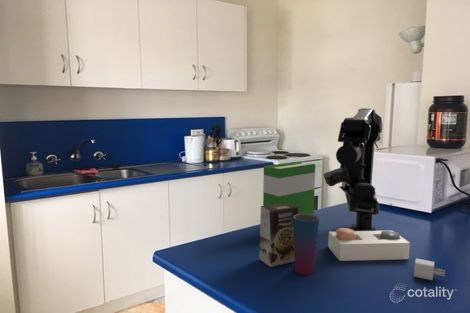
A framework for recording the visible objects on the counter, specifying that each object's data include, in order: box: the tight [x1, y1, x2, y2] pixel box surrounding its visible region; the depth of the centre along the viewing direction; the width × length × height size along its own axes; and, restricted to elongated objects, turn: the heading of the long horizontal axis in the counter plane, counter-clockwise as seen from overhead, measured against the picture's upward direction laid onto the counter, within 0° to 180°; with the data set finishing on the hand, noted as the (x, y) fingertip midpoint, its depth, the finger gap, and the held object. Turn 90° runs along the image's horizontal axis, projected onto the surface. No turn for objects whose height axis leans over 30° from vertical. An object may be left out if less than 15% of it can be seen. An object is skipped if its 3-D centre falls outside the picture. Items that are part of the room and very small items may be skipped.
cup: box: [293, 214, 320, 276], centre depth 100 cm, size 7×7×15 cm
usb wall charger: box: [413, 258, 446, 281], centre depth 97 cm, size 4×7×4 cm, turn 60°
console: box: [327, 230, 411, 262], centre depth 113 cm, size 11×21×5 cm, turn 93°
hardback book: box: [262, 160, 316, 215], centre depth 130 cm, size 18×7×24 cm, turn 127°
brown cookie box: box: [259, 203, 298, 268], centre depth 106 cm, size 9×6×16 cm
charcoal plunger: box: [381, 230, 401, 240], centre depth 113 cm, size 5×5×6 cm
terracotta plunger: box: [335, 227, 355, 240], centre depth 112 cm, size 5×5×6 cm
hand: (351, 211), depth 113 cm, fingers closed
